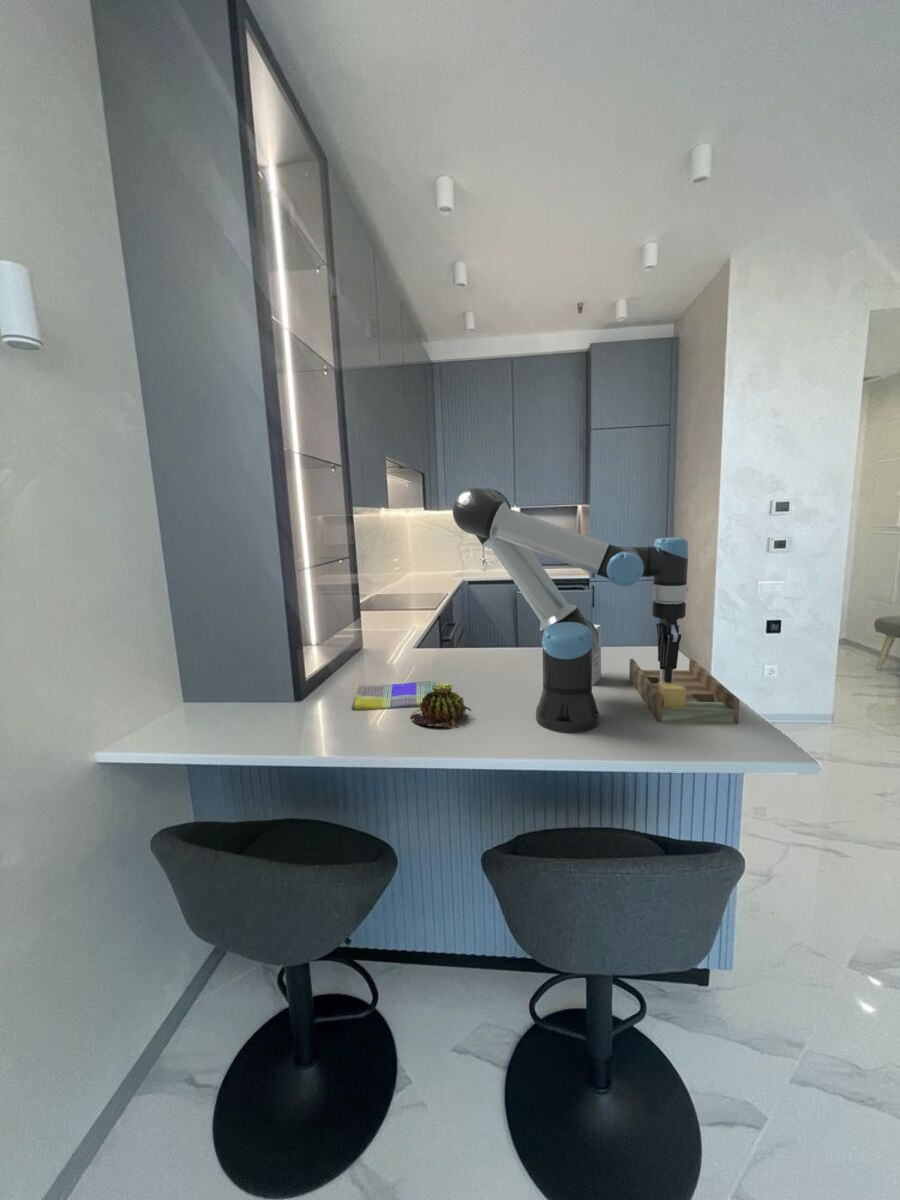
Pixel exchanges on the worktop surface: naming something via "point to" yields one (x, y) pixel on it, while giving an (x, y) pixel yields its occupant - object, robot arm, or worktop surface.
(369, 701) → the dish towel
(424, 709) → the cactus
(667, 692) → the block
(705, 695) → the tray
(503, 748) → the worktop surface
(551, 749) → the worktop surface
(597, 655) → the supplement box
